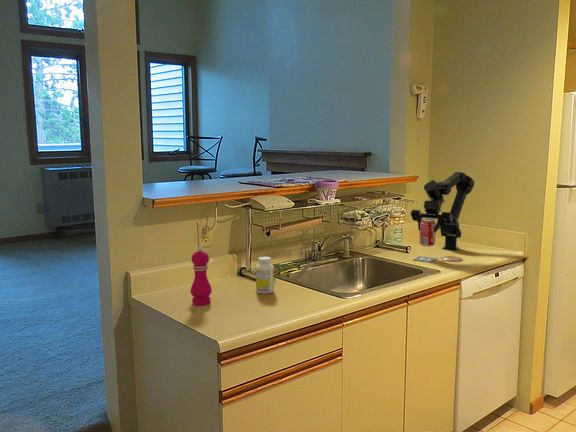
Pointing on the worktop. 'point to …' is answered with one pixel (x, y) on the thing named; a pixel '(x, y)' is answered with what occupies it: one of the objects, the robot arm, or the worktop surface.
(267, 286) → the supplement bottle
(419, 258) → the coaster
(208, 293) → the pepper mill
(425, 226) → the soda can
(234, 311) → the worktop surface
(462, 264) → the worktop surface
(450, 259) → the disc
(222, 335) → the worktop surface
